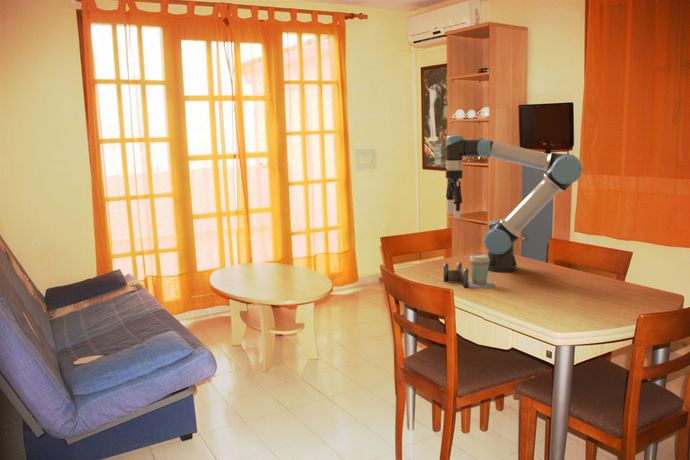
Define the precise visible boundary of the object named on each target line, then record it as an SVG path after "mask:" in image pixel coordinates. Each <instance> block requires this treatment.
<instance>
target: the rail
mask: <svg viewBox="0 0 690 460" xmlns="http://www.w3.org/2000/svg"><path fill="white" fill-rule="evenodd" d="M456 265H457V266H456V269H449V263H446V262H445V263H443V282H444V283H448V281H453V282H458V281H459V282H460V283H461V284H462V285H463V286H462V285H461V286H462V287H464V289H468V288H469V287H468V280H469V268H463V263H462V262H457V264H456ZM460 283H459V284H460Z"/></svg>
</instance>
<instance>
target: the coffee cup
mask: <svg viewBox="0 0 690 460" xmlns="http://www.w3.org/2000/svg"><path fill="white" fill-rule="evenodd" d="M469 261H470V271H471V280H472V283H473V284H477V285H484V284H486V281H487V279H488V273H489V270H488V267H489V261H490V259H489V256H488V254H483V253H474V254H471V255H470V257H469Z"/></svg>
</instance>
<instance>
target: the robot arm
mask: <svg viewBox="0 0 690 460" xmlns="http://www.w3.org/2000/svg"><path fill="white" fill-rule="evenodd" d="M445 139H446V142H445V162H444V165H445V169H446V170H445V178H446V179H447V187H446V192H445V193H446V195H445V198H446V214H447V215H452V214H453V218H454V219H461V213H462V212H461V210H462V209H461V207H462V206H461V205H462V203H463V198H462V188H461V181H459V179H462V178H463V169H464V168H463V167H464V165H463V164H464V163H463V162H464V159H463V157H480V158H483V157H484V158H485V157H486V158H491V159H494V160H495V159H496V160H501V161H503V162H508V163H512V164H516V165H520V166H524V167H528V168H529V167H530V168H532V169H533V168H534V169H537V170H540V171H541V170H542V171H544V172H543V179H542V180H540V182H539V183H538V184H536V186H535V187H533V189H532V190H531V191H530V192H529V193H528V194H527V195H526V196H525V198H523V199H522V200H521V202H520V203H519V204H517V206H516V207H515V208H514V209H512V211H511V212H510V213H509V214H508V215H507V216H506V217H505V218H500V219H499V220H490V221H489V222H488V231H487V232H486V233H485V235H484V237H483V243H484V244H483V245H484V246H485V249H486V250H487V255H488V256H489V259H490V261H489V267H488V271H491V272H496V273H497V272H498V273H506V272H507V273H509V272H515V271H517V270H518V264H517V260H516V256H515V254H514V252H515V251H514V250H515V248H514V247H515V242H516V241H517V240H518V239H520V237H521V232H522V230H523V229H524V228H525V227H526V226H527V225H528V224H529V223H530V222H531V221H532V220H533V219H534V218H535V217H536V216H537V215H538V214H539V212H541V211H542V210H543V209H544V207H546V206H547V205H548V204H549V202H551V201H552V199H553V198H555V196H556V195H558V194H559V192H561V193H562V192H563V193H564V192H565V191H566V190H567V189H569V188H570V186H571V185H573V183H575V182H577V181H578V180H579V179H580V177H581V176H582V173H583V165H582V163H581V161H580V159H579V158H578V157H576V156H575V155H573V154H570V153H567V154H566V153H558V152H553V151H552V152H550V153H548V152H547V153H546V152H542V151H538V150H533V149H529V148H525V147H520V146H515V145H513V144H512V145H510V144H506V143H502V142H498V141H493V140H490V139H486V138H482V137H481V138H476V139H464V137H463V135H461V134H460V135H458V134H457V135H456V134H455V135H447V136H446V138H445Z"/></svg>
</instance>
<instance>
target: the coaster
mask: <svg viewBox="0 0 690 460" xmlns="http://www.w3.org/2000/svg"><path fill="white" fill-rule="evenodd" d="M468 286H469V287H470V288H469V287H468V288H469V289H486V288H487V289H488V288H497V286H496V285H495V284H494V283H493V282H492V281H490V279H488V278H487V281H486V284H484V285H477V284H473V283H472V279H468Z"/></svg>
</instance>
